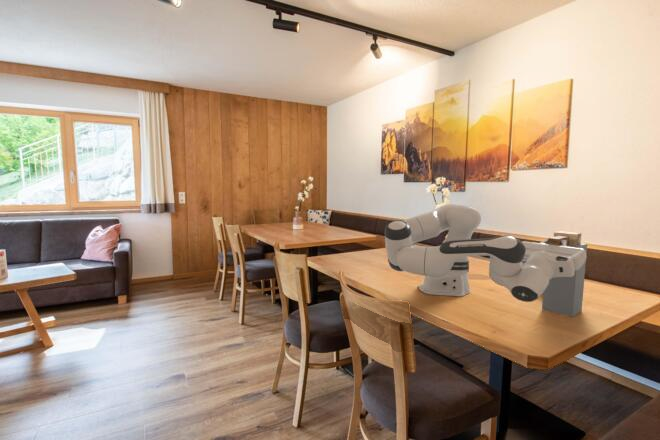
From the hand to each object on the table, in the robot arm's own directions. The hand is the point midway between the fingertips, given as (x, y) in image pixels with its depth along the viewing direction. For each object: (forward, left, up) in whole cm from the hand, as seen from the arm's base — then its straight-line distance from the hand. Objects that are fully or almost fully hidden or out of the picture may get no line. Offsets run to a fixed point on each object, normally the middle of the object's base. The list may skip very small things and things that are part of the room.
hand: (557, 240), depth 119 cm
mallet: (+4, +3, -2) cm, 5 cm away
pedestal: (+8, +6, -28) cm, 30 cm away
